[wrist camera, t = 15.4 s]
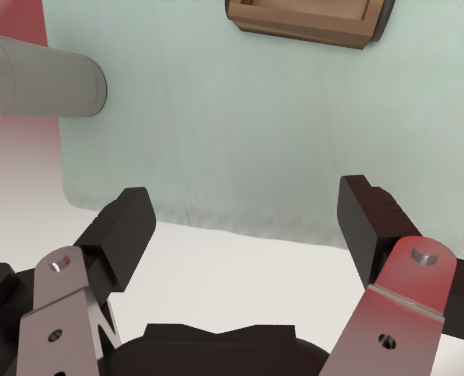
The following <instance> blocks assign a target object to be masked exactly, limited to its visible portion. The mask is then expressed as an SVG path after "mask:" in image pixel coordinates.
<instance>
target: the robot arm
mask: <svg viewBox="0 0 464 376" xmlns="http://www.w3.org/2000/svg"><path fill="white" fill-rule="evenodd" d="M105 99H106V83H105V79H104V76H103V73H102V72H101V70H100V68H99V67H98V66H97V65H96V63H95V62H93V61H92V60H91V59H89V58H87V57H84V56H80V55H76V54H72V53H68V52H64V51H60V50H56V49H52V48H48V47H44V46H40V45H36V44H31V43H28V42H24V41H19V40H16V39H11V38H7V37H3V36H0V118H15V117H16V118H17V117H18V118H19V117H88V116H92V115H95V114H96V113H98V112H99V111H100V110H101V108H102V107H103V105H104V102H105ZM337 217H338V222H339V225H340V228H341V230H342V233H343V235H344V238H345V241H346V243H347V246H348V248H349V251H350V253H351V256H352V258H353V261H354V263H355V266H356V268H357V271H358V273H359V276H360V278H361V281H362V283H363V286H364V288H365V292H364V294H363V296H362V298H361V299H360V301H359V303H358V305H357V307H356V309H355V310H354V312H353V314H352V316H351V318H350V319H349V321H348V323H347V325H346V327H345V329H344V330H343V332H342V334H341V336H340V338H339V340H338V341H337V343H336V345H335V347H334V349H333V350H332V352H331V354H329V353H328V352H326V351H325V350H323V349H322V348H320V347H318V346H316V345H314V344H312V343H310V342H307V341H305V340H302V339H299V338H296V334H295V326H294V325H254V326H249V327H245V328H241V329H237V330H233V331H229V332H224V333H220V334H215V333H211V332H207V331H204V330H201V329H197V328H194V327H190V326H187V325H184V324H148V325H147V327H146V329H145V332H144V335H143V336H141V337H139V338H136V339H133V340H131V341H128V342H127V343H125V344H121V341H120V337H119V334H118V331H117V326H116V323H115V320H114V316H113V312H112V309H111V305H110V302H109V300H108V296H109V295H110V293H111V292H124V291H125V289H126V287H127V285H128V283H129V281H130V279H131V277H132V275H133V273H134V271H135V269H136V267H137V265H138V263H139V261H140V259H141V257H142V255H143V253H144V251H145V249H146V247H147V244H148V242H149V241H150V239H151V237H152V235H153V233H154V231H155V227H156V216H155V213H154V210H153V207H152V204H151V201H150V198H149V195H148V192H147V190H146V188H145V187H133V188H126V189H124V191H123V192H122V193H121V194H120V196H119V197H118V198H117V199H116V200H114V201H113V202H111V203H110V204H108V205H107V206H105V207H104V208H103V210H102V211H101V212H100V213H99V214H98V217H96V218H95V219H94V220H93V222H92V224H90V225H89V226H88V228H87V229H86V230H85V231H84V233H83V234H82V235H81V236H80V237H79V239H78V240H77V241H76V242H75V243H74V244H73V246H67V247H63V248H59V249H57V250H55V251H53V252H51V253H49V254H48V255H46V256H45V257H44V258H43V259H41V260H40V262H39V263H38V264H37V266H36V267H35V268H33V269H29V270H25V271H22V272H17V273H15V272H14V270H13V269H12V268H11V266H10V265H9V264H7V263H0V376H430V374H431V370H432V366H433V363H434V359H435V355H436V351H437V348H438V344H439V340H440V336H441V333H442V334H446V335H449V336H453V337H456V338H460V339H463V340H464V260H462V259H458V258H456V256H455V255H454V253H453V252H452V251H451V250H450V249H449V248H448V247H446V246H445V245H443V244H442V243H440V242H438V241H435V240H433V239H430V238H426V237H423V236H422V235H421V233H420V232H419V231H418V230H417V228H416V227H415V226H414V224H413V223H412V222H411V220H410V219H409V218H408V216H407V215H406V214H405V213H404V212H403V211H402V209H401V207H400V206H399V205H398V204H397V202H396V201H395V199H394V198H393V197H392V196H391V194H390V193H388V192H386V191H385V190H383V189H382V188H380V187H371V185H370V184H369V182H368V181H367V179H366V178H365V176H364V175H348V176H342V177H341V179H340V187H339V196H338V206H337Z"/></svg>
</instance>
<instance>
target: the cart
mask: <svg viewBox="0 0 464 376" xmlns="http://www.w3.org/2000/svg"><path fill="white" fill-rule="evenodd" d="M394 3H395V0H225V10H226V15H227V17H228V19H229V20H232V21H233V22H234V23H235V24H236V25H237V26H238V27H239V29H240V30H241V31H247V32H253V33H259V34H266V35H272V36H278V37H285V38H291V39H298V40H304V41H310V42H317V43H323V44H329V45H336V46H342V47H349V48H355V49H361V50H362V49H363V48H364V47H365V45H366V44H367V43H368V41H375V42H378V41H379V39H380V38H381V36H382V34H383V32H384V29H385V27H386V25H387V22H388V20H389V17H390V14H391V12H392V9H393V6H394Z"/></svg>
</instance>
